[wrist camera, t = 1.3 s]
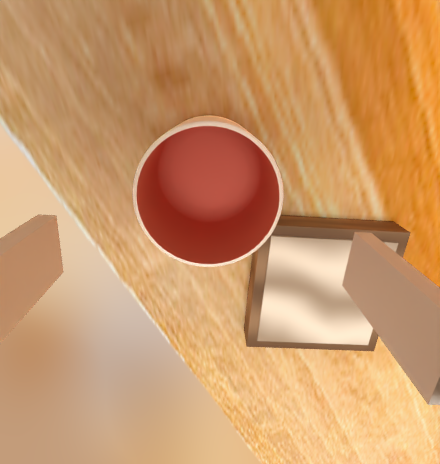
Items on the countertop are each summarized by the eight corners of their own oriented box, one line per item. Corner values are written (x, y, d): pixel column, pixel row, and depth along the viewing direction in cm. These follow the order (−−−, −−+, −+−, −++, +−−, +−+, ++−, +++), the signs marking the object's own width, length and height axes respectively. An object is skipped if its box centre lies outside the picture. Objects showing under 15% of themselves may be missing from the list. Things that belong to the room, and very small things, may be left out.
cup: (245, 230, 33) (258, 280, 24) (147, 207, 32) (121, 250, 22) (276, 131, 29) (305, 144, 20) (167, 101, 28) (146, 100, 19)
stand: (257, 214, 32) (261, 225, 29) (393, 221, 33) (411, 233, 30) (244, 328, 37) (246, 348, 34) (361, 333, 38) (374, 352, 35)
